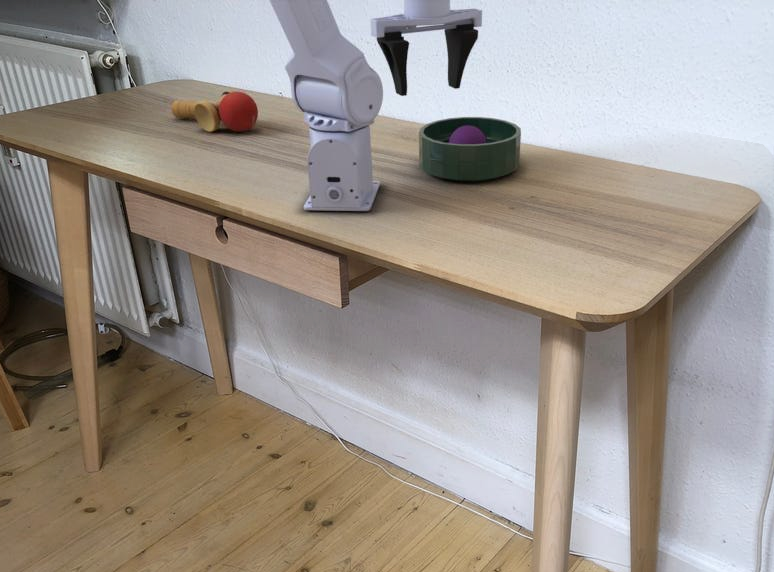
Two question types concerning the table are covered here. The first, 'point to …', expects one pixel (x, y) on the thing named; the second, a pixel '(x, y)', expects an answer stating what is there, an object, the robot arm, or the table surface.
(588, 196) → the table surface
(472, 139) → the ball
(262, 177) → the table surface
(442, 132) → the bowl
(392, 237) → the table surface
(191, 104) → the kendama
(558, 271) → the table surface
